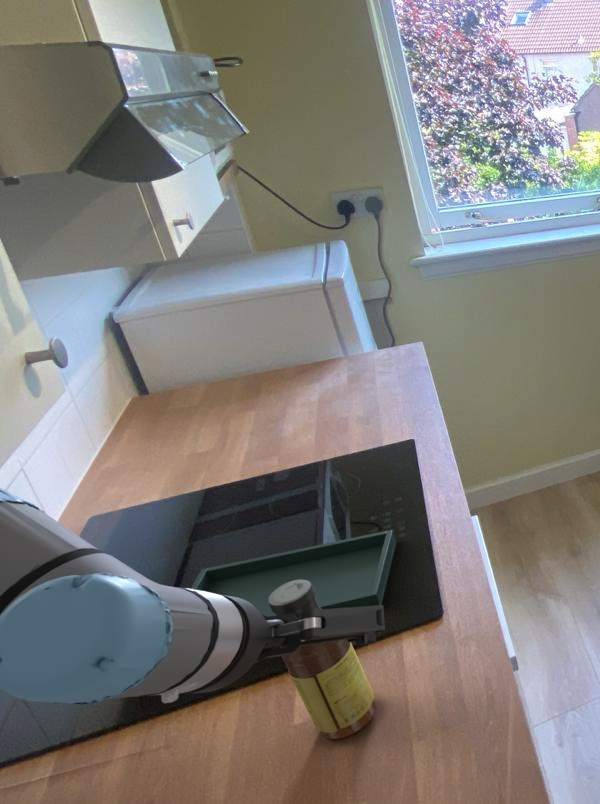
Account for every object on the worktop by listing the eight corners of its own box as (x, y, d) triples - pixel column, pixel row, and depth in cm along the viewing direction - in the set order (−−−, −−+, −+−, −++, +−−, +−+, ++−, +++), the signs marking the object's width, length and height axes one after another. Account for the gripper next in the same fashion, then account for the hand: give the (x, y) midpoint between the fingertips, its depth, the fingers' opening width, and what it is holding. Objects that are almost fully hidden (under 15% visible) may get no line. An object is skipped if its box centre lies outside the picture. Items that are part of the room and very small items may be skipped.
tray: (164, 659, 96) (156, 645, 95) (208, 582, 109) (201, 569, 108) (380, 608, 103) (376, 594, 102) (396, 542, 117) (392, 529, 116)
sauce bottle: (382, 691, 90) (336, 564, 82) (372, 733, 85) (322, 601, 77) (322, 707, 88) (269, 578, 80) (308, 751, 83) (250, 617, 75)
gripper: (-13, 743, 53) (156, 721, 72) (369, 648, 60) (431, 651, 79) (-3, 636, 55) (159, 642, 75) (364, 557, 63) (425, 581, 82)
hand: (299, 647), depth 77 cm, fingers open, 13 cm apart
